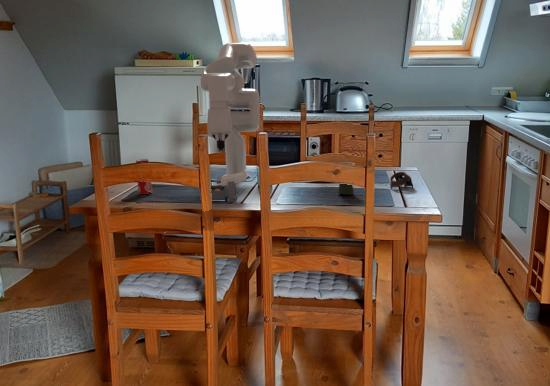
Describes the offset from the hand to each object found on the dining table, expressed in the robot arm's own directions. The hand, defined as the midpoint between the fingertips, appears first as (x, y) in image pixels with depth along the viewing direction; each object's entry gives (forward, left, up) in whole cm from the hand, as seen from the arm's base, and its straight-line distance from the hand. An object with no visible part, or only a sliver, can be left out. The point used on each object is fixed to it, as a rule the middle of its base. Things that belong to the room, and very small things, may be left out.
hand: (221, 149), depth 243 cm
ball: (+8, -2, -17) cm, 18 cm away
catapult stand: (+8, +4, -19) cm, 21 cm away
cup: (+8, -2, -19) cm, 21 cm away
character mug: (+6, +51, -19) cm, 55 cm away
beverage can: (-5, -34, -19) cm, 39 cm away
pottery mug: (-4, +76, -20) cm, 79 cm away
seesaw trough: (+5, +5, -12) cm, 14 cm away
